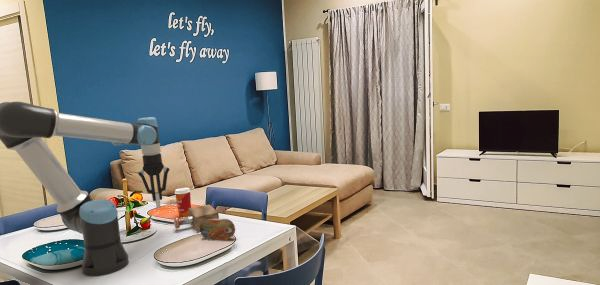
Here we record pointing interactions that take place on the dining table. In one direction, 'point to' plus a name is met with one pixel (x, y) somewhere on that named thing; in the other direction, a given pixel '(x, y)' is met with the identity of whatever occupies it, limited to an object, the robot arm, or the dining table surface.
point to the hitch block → (202, 215)
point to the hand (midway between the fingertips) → (158, 207)
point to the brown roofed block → (182, 221)
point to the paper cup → (183, 201)
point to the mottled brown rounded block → (217, 229)
